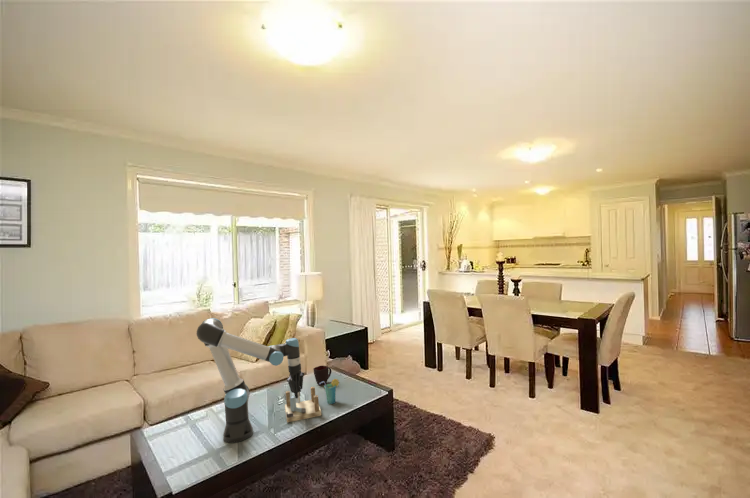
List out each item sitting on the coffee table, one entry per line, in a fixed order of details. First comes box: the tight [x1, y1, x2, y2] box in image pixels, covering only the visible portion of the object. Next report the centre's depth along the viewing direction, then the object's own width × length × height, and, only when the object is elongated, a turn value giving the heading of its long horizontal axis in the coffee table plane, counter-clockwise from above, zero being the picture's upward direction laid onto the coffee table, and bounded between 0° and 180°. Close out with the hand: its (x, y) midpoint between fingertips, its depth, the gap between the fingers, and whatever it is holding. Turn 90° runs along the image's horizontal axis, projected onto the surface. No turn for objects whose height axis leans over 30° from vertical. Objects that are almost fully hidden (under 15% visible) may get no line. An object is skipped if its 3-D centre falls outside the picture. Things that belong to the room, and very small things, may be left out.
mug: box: [312, 365, 332, 386], centre depth 267 cm, size 10×14×12 cm
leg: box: [290, 395, 306, 413], centre depth 214 cm, size 10×2×8 cm, turn 61°
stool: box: [284, 386, 322, 423], centre depth 220 cm, size 20×20×11 cm
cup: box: [319, 378, 340, 405], centre depth 231 cm, size 14×8×15 cm, turn 128°
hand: (298, 402), depth 219 cm, fingers closed
